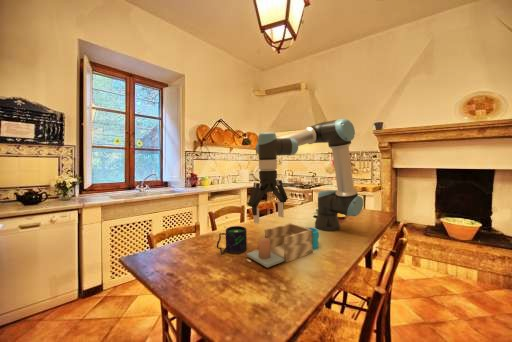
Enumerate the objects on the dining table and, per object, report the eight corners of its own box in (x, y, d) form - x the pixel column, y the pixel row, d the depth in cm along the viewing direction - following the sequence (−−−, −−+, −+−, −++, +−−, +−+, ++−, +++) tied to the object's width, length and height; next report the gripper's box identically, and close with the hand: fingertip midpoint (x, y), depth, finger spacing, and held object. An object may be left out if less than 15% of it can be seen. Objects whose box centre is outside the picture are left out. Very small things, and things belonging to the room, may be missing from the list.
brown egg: (265, 252, 101) (265, 237, 100) (272, 256, 97) (272, 240, 96) (256, 255, 98) (255, 239, 97) (263, 259, 94) (263, 243, 93)
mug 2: (311, 251, 107) (311, 233, 107) (297, 246, 113) (297, 230, 113) (325, 244, 115) (325, 228, 115) (311, 240, 121) (311, 225, 121)
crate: (290, 243, 117) (290, 223, 116) (312, 252, 106) (312, 230, 105) (264, 251, 106) (264, 229, 106) (286, 262, 95) (286, 237, 95)
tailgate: (264, 247, 106) (246, 253, 100) (285, 258, 95) (267, 265, 89) (264, 250, 106) (246, 255, 100) (285, 260, 95) (267, 267, 89)
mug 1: (241, 244, 116) (241, 224, 116) (250, 251, 107) (250, 230, 107) (212, 250, 109) (211, 229, 109) (218, 258, 100) (218, 235, 100)
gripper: (283, 168, 107) (284, 212, 109) (238, 171, 92) (239, 223, 94) (295, 168, 101) (296, 215, 103) (248, 172, 86) (250, 227, 88)
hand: (269, 219), depth 98 cm, fingers open, 13 cm apart
